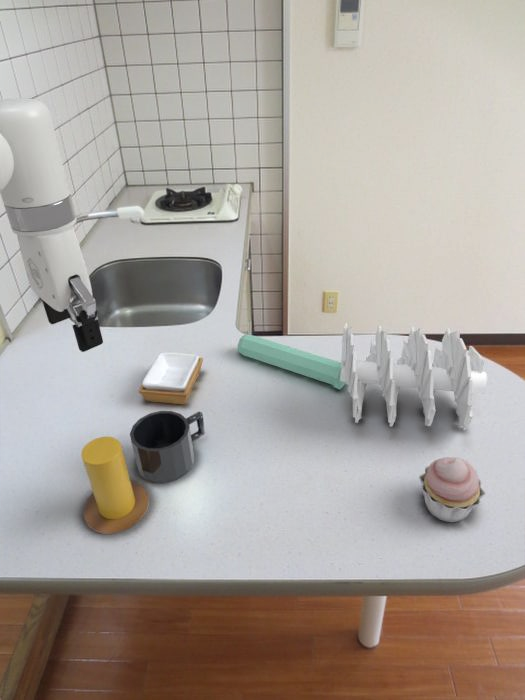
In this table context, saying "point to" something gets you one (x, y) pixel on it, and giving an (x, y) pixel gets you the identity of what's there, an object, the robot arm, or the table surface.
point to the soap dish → (171, 378)
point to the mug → (165, 445)
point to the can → (108, 477)
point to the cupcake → (451, 488)
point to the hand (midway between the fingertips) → (75, 333)
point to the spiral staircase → (414, 372)
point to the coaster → (121, 524)
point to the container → (292, 359)
